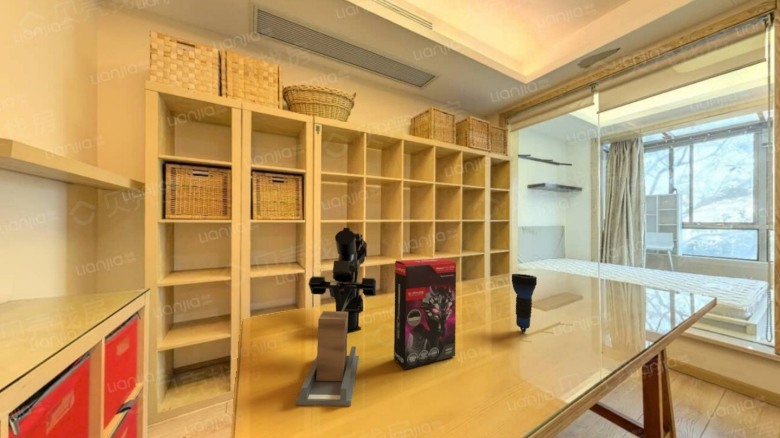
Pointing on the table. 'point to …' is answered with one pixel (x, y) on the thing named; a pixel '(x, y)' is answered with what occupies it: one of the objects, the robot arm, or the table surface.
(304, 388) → the chute
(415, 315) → the graphics card box
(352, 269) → the robot arm
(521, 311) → the flashlight
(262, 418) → the table surface
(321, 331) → the block
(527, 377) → the table surface
